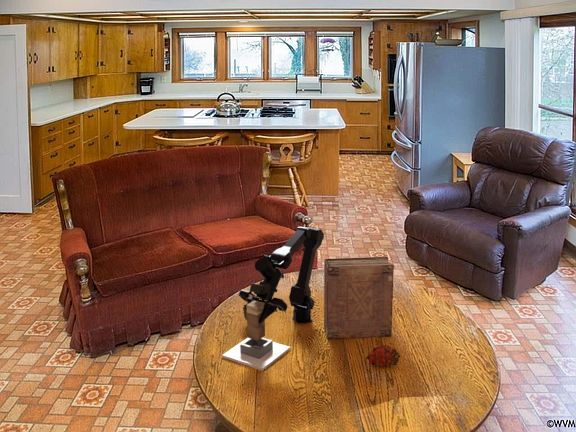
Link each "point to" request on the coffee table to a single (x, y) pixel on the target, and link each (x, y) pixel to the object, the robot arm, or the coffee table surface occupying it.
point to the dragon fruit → (383, 356)
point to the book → (358, 297)
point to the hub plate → (256, 353)
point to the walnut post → (255, 320)
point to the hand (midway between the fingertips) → (253, 321)
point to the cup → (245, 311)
